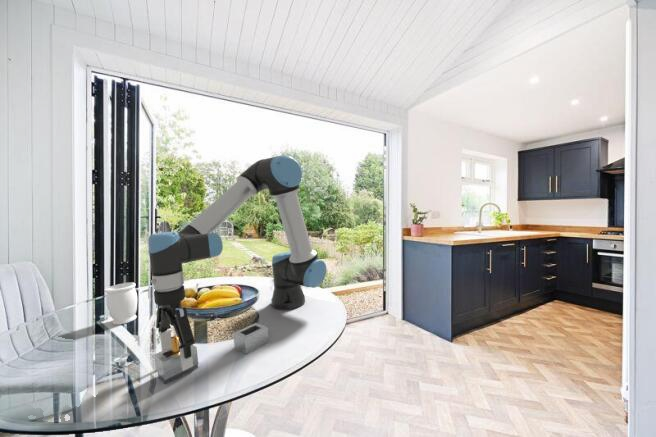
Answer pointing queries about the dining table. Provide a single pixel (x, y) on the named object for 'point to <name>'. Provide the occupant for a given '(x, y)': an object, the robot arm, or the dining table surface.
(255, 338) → the grey slotted holder
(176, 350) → the grey base with post
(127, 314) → the jar
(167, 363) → the grey rectangular block
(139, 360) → the dining table surface
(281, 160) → the robot arm
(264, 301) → the dining table surface
